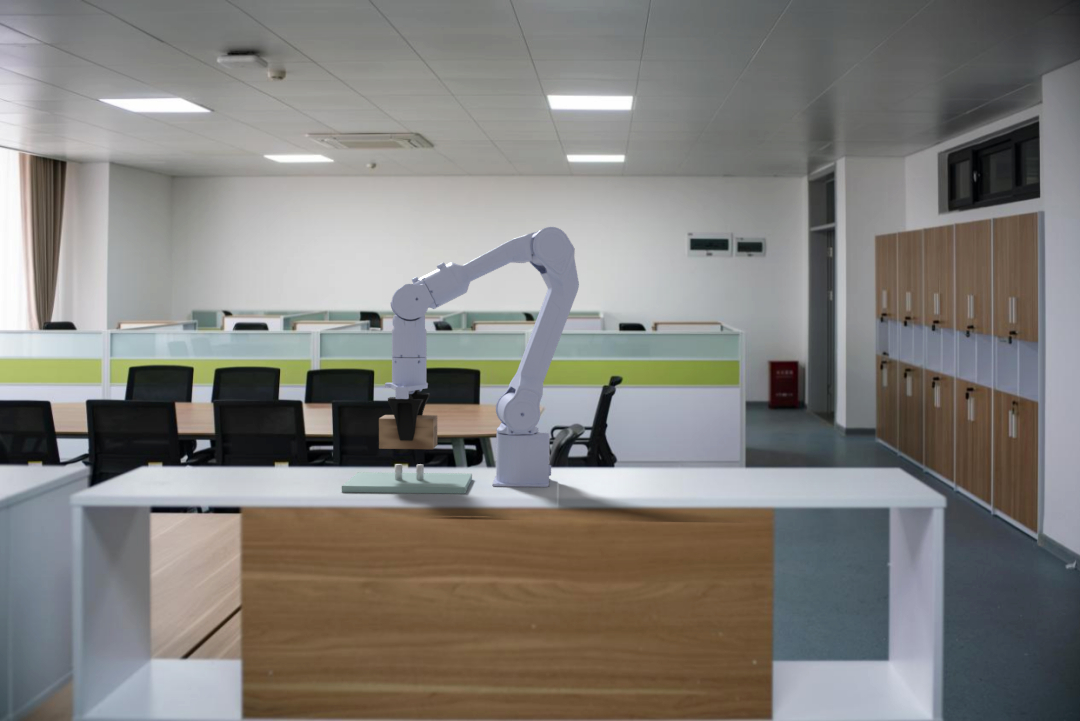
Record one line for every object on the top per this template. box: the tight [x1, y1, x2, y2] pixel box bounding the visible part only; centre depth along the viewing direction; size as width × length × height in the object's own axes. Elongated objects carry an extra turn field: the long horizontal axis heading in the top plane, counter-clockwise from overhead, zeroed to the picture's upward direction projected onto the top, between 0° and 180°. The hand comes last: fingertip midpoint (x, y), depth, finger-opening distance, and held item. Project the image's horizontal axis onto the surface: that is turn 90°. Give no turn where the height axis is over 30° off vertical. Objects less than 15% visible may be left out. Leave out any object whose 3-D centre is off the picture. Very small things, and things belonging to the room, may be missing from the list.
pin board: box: [341, 463, 473, 494], centre depth 150 cm, size 20×12×4 cm, turn 89°
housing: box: [378, 414, 438, 450], centre depth 149 cm, size 9×5×5 cm, turn 89°
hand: (409, 437), depth 149 cm, fingers closed on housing, 5 cm apart
